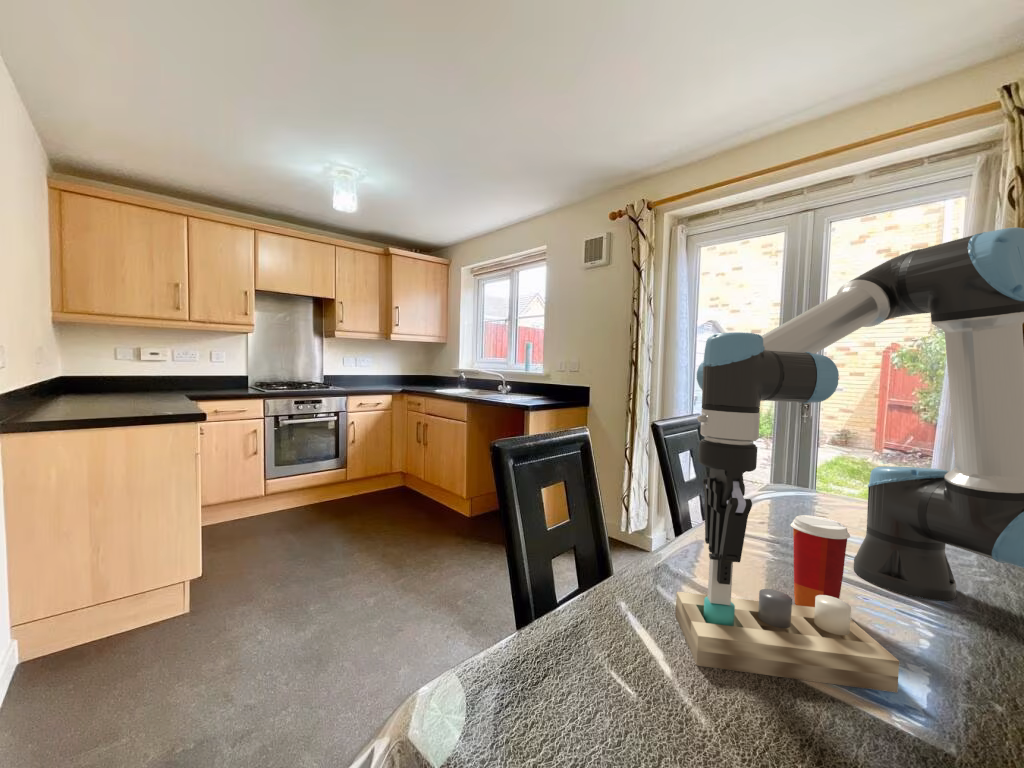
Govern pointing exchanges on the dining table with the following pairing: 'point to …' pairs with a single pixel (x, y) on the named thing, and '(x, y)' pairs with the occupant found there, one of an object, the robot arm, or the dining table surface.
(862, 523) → the dining table surface
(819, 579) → the coffee cup
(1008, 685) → the dining table surface
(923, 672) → the dining table surface
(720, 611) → the teal button
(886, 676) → the wooden button tray
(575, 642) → the dining table surface
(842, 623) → the white rounded cylinder
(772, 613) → the gray button
